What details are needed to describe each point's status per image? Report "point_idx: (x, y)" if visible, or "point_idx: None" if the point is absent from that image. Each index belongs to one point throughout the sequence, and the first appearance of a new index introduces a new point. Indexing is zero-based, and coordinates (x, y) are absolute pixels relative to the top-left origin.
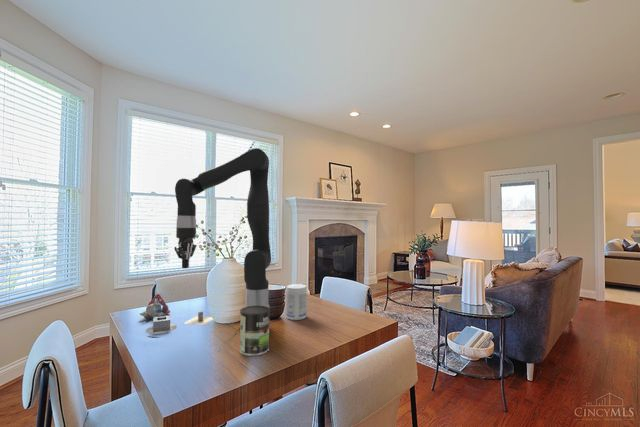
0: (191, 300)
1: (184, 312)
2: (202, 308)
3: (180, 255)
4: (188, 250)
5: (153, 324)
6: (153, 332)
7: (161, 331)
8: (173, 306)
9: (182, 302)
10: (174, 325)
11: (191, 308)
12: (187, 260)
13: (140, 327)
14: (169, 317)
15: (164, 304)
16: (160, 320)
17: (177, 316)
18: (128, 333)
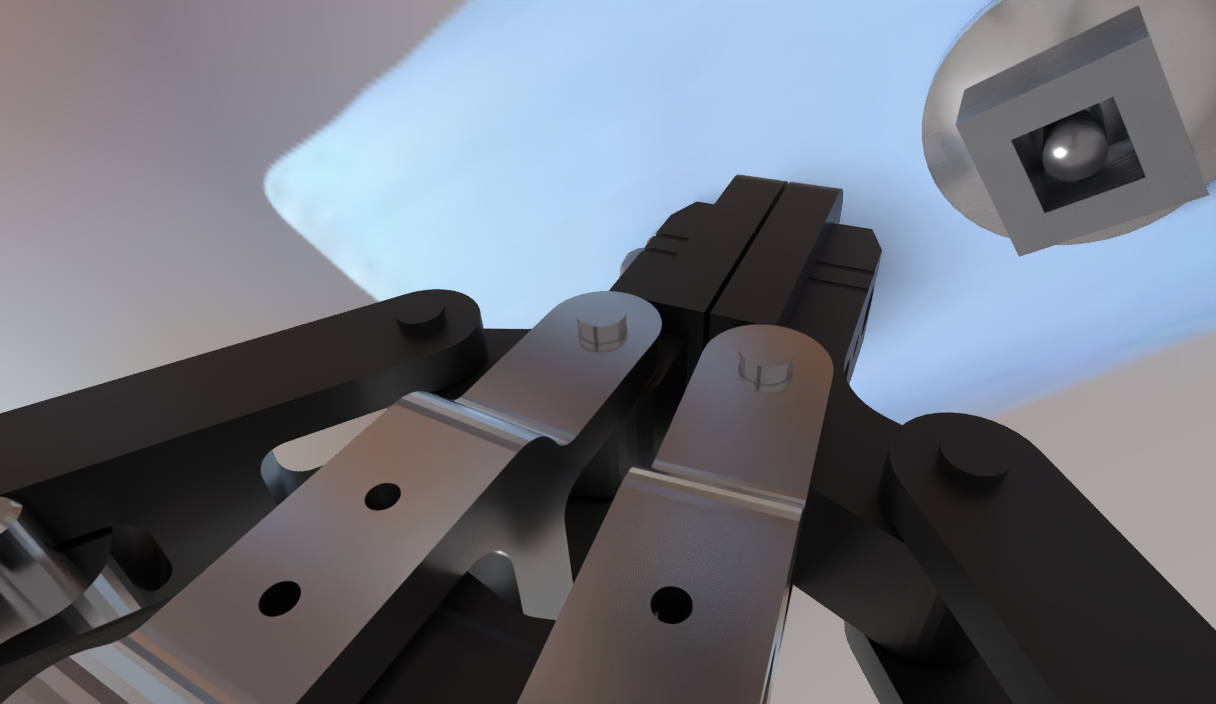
0: (319, 230)
1: (544, 160)
2: (419, 59)
3: (951, 657)
4: (629, 605)
5: (1203, 179)
6: (1198, 142)
7: (1179, 75)
8: (461, 292)
9: (375, 270)
10: (977, 36)
11: (450, 150)
12: (757, 297)
13: (917, 326)
14: (1038, 94)
15: None
16: (1156, 141)
17: (640, 169)
18: (1062, 353)
